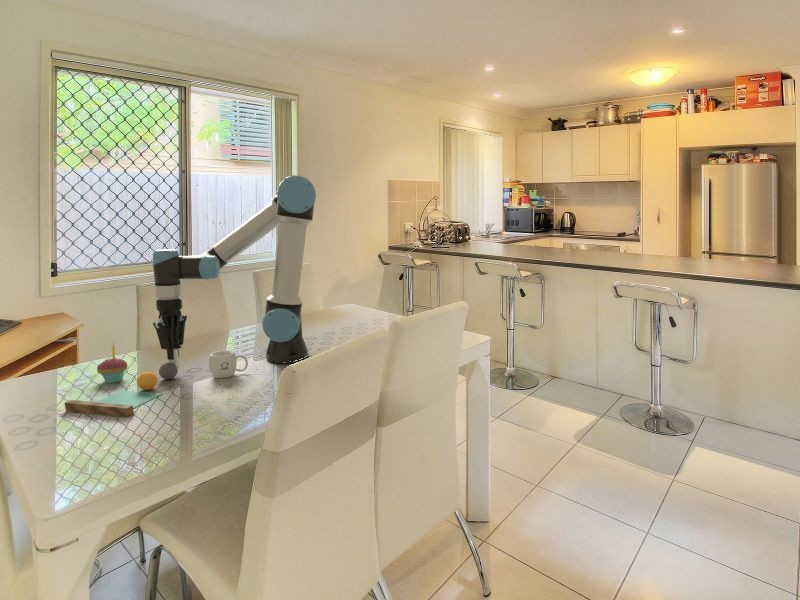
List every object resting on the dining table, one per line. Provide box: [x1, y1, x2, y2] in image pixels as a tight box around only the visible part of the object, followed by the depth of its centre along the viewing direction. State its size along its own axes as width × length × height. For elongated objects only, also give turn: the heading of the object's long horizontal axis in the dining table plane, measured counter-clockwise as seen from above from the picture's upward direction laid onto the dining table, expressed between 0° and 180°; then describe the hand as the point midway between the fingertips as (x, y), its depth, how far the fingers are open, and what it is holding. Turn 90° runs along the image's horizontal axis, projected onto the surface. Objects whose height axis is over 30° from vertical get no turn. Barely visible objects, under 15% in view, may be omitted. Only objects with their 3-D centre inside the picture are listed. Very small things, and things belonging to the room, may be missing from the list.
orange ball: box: [136, 371, 158, 391], centre depth 146 cm, size 6×6×6 cm
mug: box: [208, 349, 249, 379], centre depth 158 cm, size 12×8×8 cm
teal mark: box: [96, 389, 163, 410], centre depth 137 cm, size 14×14×1 cm
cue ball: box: [158, 361, 179, 381], centre depth 155 cm, size 6×6×6 cm
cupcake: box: [96, 342, 128, 384], centre depth 154 cm, size 9×8×12 cm
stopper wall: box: [64, 399, 135, 418], centre depth 129 cm, size 20×2×2 cm, turn 77°
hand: (174, 368), depth 159 cm, fingers closed
